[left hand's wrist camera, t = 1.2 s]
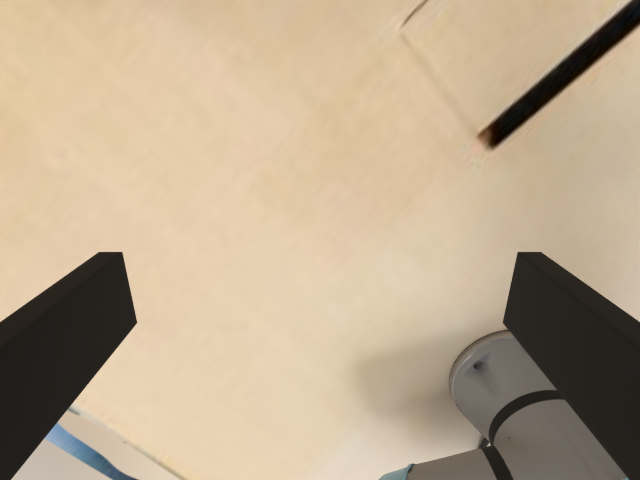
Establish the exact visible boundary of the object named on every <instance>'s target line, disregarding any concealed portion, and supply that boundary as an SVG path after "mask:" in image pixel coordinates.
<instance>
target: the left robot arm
mask: <svg viewBox="0 0 640 480" xmlns="http://www.w3.org/2000/svg"><path fill="white" fill-rule="evenodd" d="M136 324H137V320H136V315H135V310H134V306H133V301H132V296H131V291H130V287H129V282H128V277H127V273H126V268H125V263H124V258H123V254H122V252H99V253H97V254H96V255H94V256H93V257H92V258H90V259H89V260H87V261H86V262H84V263H83V264H82V265H80V266H79V267H77V268H76V269H75V270H73V271H72V272H70V273H69V274H68V275H66V276H65V277H63V278H62V279H60V280H59V281H58V282H56V283H55V284H53V285H52V286H51V287H49V288H48V289H46V290H45V291H44V292H42V293H41V294H39V295H38V296H37V297H35V298H34V299H32V300H31V301H29V302H28V303H27V304H25V305H24V306H22V307H21V308H20V309H18V310H17V311H15V312H14V313H13V314H11V315H10V316H8V317H7V318H5V319H4V320H3V321H1V322H0V480H11V479H12V478H13V476H14V475H15V474H16V473H17V471H18V470H19V469H20V468H21V466H22V465H23V464H24V463H25V461H26V460H27V459H28V458H29V456H30V455H31V454H32V453H33V451H34V450H35V449H36V448H37V447H38V445H39V444H40V443H41V441H42V440H43V439H44V438H45V437H46V435H47V434H48V433H49V432H50V430H51V429H52V428H53V427H54V425H55V424H56V423H57V422H58V420H59V419H60V418H61V417H62V415H63V414H64V413H65V412H66V411H67V409H68V408H69V407H70V406H71V404H72V403H73V402H74V401H75V399H76V398H77V397H78V396H79V394H80V393H81V392H82V391H83V389H84V388H85V387H86V386H87V384H88V383H89V382H90V381H91V379H92V378H93V377H94V376H95V374H96V373H97V372H98V371H99V370H100V368H101V367H102V366H103V365H104V363H105V362H106V361H107V360H108V358H109V357H110V356H111V355H112V353H113V352H114V351H115V350H116V348H117V347H118V346H119V345H120V343H121V342H122V341H123V340H124V338H125V337H126V336H127V335H128V333H129V332H130V331H131V330H132V329H133V327H134V326H135V325H136ZM503 324H504V325H505V326H506V327H507V329H508V331H502V332H498V333H494V334H491V335H488V336H486V337H484V338H482V339H480V340H478V341H476V342H475V343H473V344H472V345H470V346H469V347H468V348H467V349H466V350H464V351H463V352H462V354H461V355H460V356H459V357H458V359H457V360H456V361H455V363H454V365H453V367H452V370H451V373H450V378H449V387H450V391H451V394H452V396H453V399H454V401H455V403H456V405H457V407H458V408H459V410H460V411H461V412H462V414H463V415H464V416H465V417H466V418H467V419H468V420H469V421H470V422H471V423H472V424H473V425H474V426H475V427H476V428H477V429H478V430H479V431H480V433H481V434H482V435H483V436H484V437H485V438H484V439H483V441H482V443H481V445H480V447H479V449H476V450H472V451H468V452H464V453H460V454H456V455H453V456H449V457H445V458H441V459H437V460H433V461H428V462H424V463H420V464H410V465H408V466H407V467H406V468H403V469H400V470H397V471H394V472H391V473H387V474H385V475H383V476H382V477H381V478H380V479H379V480H640V322H639V321H637V320H636V319H635V318H633V317H632V316H630V315H629V314H627V313H626V312H625V311H623V310H622V309H620V308H619V307H618V306H616V305H615V304H613V303H612V302H611V301H609V300H608V299H606V298H605V297H603V296H602V295H601V294H599V293H598V292H596V291H595V290H594V289H592V288H591V287H589V286H588V285H587V284H585V283H584V282H582V281H581V280H580V279H578V278H577V277H575V276H574V275H572V274H571V273H570V272H568V271H567V270H565V269H564V268H563V267H561V266H560V265H558V264H557V263H556V262H554V261H553V260H551V259H550V258H548V257H547V256H546V255H544V254H543V253H541V252H518V254H517V258H516V263H515V268H514V272H513V277H512V282H511V287H510V291H509V296H508V301H507V306H506V310H505V315H504V320H503ZM489 442H490V444H491V446H488V447H487V445H488V443H489Z"/></svg>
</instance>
